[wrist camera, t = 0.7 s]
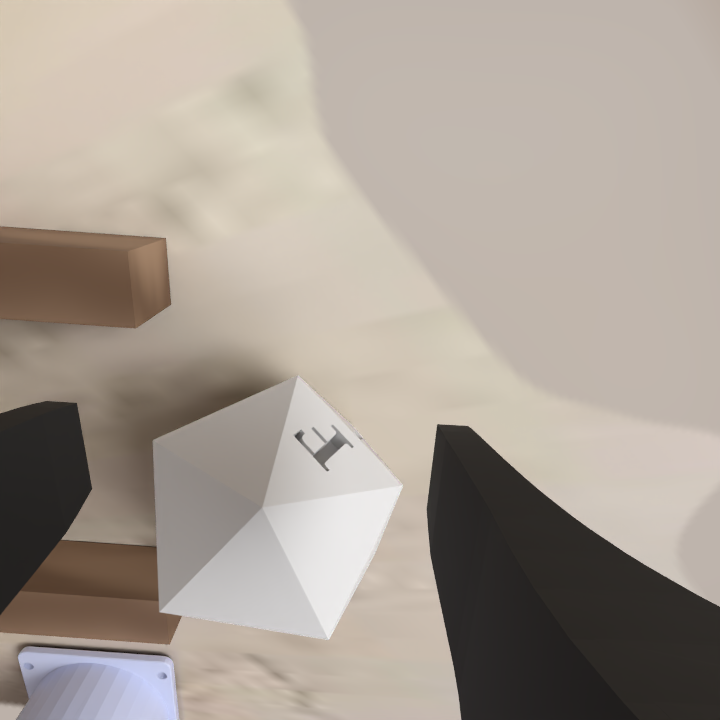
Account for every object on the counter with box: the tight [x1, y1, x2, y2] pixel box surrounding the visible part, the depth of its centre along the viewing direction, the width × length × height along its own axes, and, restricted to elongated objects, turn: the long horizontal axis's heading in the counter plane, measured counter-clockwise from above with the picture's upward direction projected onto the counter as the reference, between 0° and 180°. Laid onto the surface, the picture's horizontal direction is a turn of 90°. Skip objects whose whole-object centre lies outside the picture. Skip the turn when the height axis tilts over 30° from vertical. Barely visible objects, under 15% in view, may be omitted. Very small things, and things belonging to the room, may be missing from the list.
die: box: [153, 375, 403, 640], centre depth 18 cm, size 8×9×10 cm
